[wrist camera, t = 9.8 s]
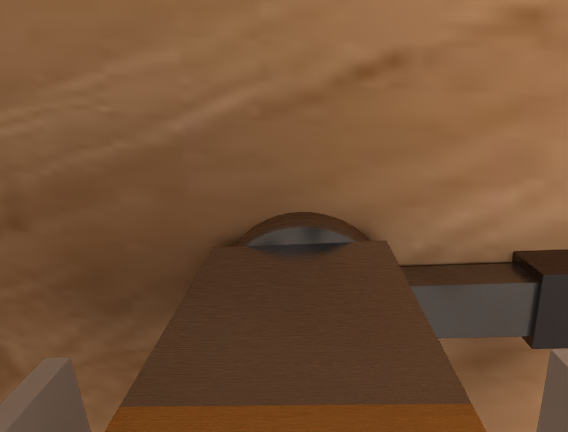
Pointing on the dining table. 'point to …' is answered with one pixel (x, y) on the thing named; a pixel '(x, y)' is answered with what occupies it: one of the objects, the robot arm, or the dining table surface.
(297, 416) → the lidded square canister
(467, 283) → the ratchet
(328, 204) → the dining table surface
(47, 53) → the dining table surface
